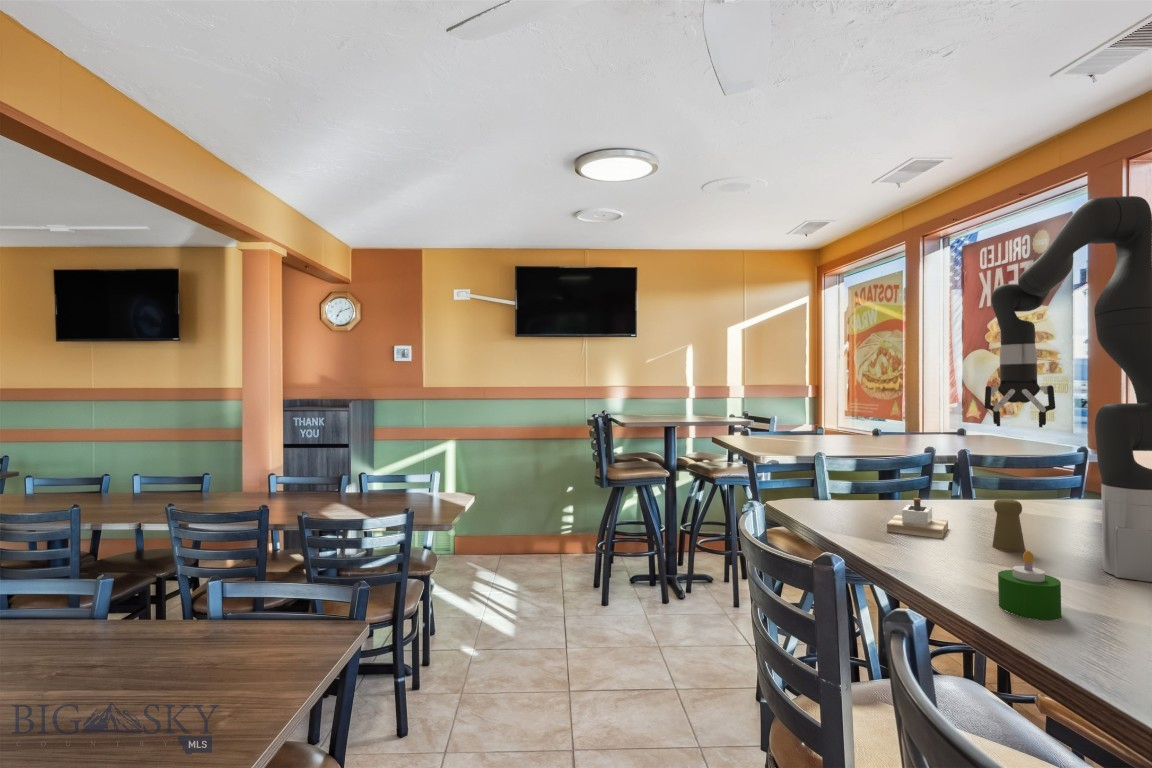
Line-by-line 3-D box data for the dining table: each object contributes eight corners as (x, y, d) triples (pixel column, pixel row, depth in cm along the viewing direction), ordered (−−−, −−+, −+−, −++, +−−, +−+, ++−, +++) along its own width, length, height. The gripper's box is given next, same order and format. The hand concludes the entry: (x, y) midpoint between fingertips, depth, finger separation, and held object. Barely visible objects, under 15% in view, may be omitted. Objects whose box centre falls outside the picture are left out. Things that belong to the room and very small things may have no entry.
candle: (994, 611, 98) (992, 551, 98) (1003, 597, 104) (1002, 541, 104) (1058, 624, 92) (1056, 561, 92) (1064, 609, 98) (1063, 549, 98)
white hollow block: (927, 526, 146) (927, 512, 146) (902, 523, 149) (902, 509, 149) (932, 520, 152) (931, 506, 152) (907, 517, 156) (907, 504, 156)
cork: (1014, 544, 136) (1013, 496, 136) (1031, 551, 130) (1030, 502, 130) (986, 544, 137) (985, 496, 137) (1002, 551, 131) (1001, 502, 131)
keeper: (942, 538, 142) (941, 505, 142) (887, 531, 150) (886, 500, 150) (947, 528, 152) (947, 497, 152) (895, 522, 159) (895, 492, 159)
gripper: (982, 363, 150) (984, 426, 150) (1054, 361, 142) (1056, 428, 142) (984, 363, 156) (986, 424, 156) (1054, 361, 147) (1055, 426, 147)
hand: (1019, 426), depth 149 cm, fingers open, 8 cm apart
